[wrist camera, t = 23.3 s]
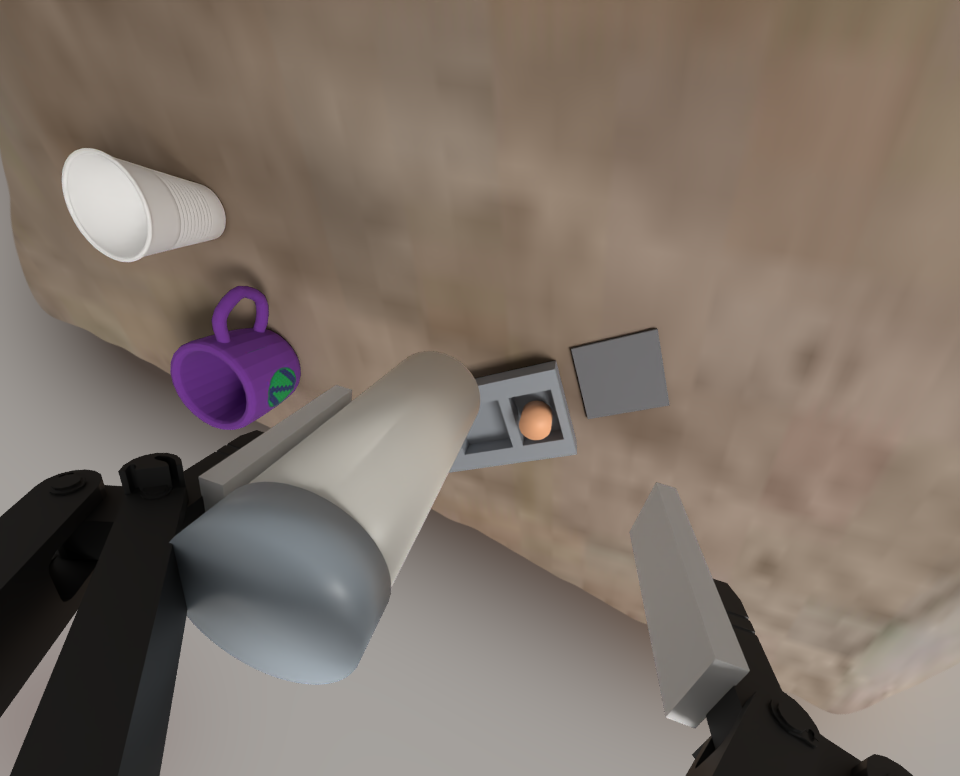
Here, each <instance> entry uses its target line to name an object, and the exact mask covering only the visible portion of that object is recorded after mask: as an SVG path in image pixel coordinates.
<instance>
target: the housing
mask: <svg viewBox="0 0 960 776" xmlns="http://www.w3.org/2000/svg"><path fill="white" fill-rule="evenodd" d="M475 380H476V383H477V385H478V388H479V392H480V408H479V411H478V414H477V416H476V418H475V420H474V422H473V424H472V426H471V428H470V430H469V432H468V434H467V436H466V438H465V440H464V442H463V444H462V447H461V449H460V451H459V453H458V455H457V457H456V459H455V461H454V463H453V465H452V467H451V469H450V471H449V472H456V471H463V470H470V469H477V468H484V467H491V466H498V465H505V464H512V463H520V462H527V461H534V460H541V459H548V458H555V457H562V456H569V455H576V454H577V441H576V437H575V433H574V429H573V425H572V422H571V418H570V414H569V410H568V406H567V402H566V398H565V394H564V390H563V386H562V382H561V379H560V375H559V371H558V367H557V363H556V360H555V361H551V362H546V363H542V364H538V365H533V366H529V367H524V368H520V369H515V370H511V371H506V372H502V373H498V374H493V375H489V376H484V377H480V378H475ZM531 401H542V402H545V403H546V404H547V405H549V407H550V408H551V410H552V425H551V431H550V433H549V435H548V436H547V437H545V438H544V439H541V440H531V439H528V438H527V437H525V436H524V435H523V434H522V433H521V431H520V429H519V421H520V418H521V414H522V410H523V408H524V406H525V405H526V404H527V403H529V402H531Z"/></svg>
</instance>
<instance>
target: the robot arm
mask: <svg viewBox="0 0 960 776" xmlns="http://www.w3.org/2000/svg"><path fill="white" fill-rule="evenodd" d="M351 399H352V390H351V389H348V388H345V387H341V386H338V385H335V386H334V387H332V388H331V389H329V390H328V391H326V392H325V393H323V394H322V395H320V396H319V397H317V398H316V399H314V400H313V401H311V402H310V403H308V404H307V405H305V406H304V407H302V408H301V409H299V410H298V411H296V412H295V413H293V414H292V415H290V416H289V417H287V418H286V419H284V420H283V421H281V422H280V423H278V424H277V425H275V426H274V427H272V428H271V429H269V430H268V431H266V432H265V433H264V432H261V431H258V430H256V431H253V432H250V433H247V434H244V435H241V436H239V437H238V438H236V439H235V440H233V441H231V442H230V443H228V445H227V446H226V445H225V446H223V447H222V448H220V449H219V450H217V452H214V453H212V454H211V455H209V456H207V457H206V458H204V459H203V460H201V461H200V462H198V463H196V464H195V465H193V466H192V467H190V468H188V469H187V470H185V471H184V472H183V467H182V461H181V459H180V458H179V457H178V456H177V455H174V454H169V453H154V454H149V455H144V456H141V457H138V458H136V459H133V460H131V461H130V462H128V463H126V464H125V465H123V467H122V468H121V469H120V470H119V471H118V472H119V475H120V479H121V482H122V486H110V485H109V486H108V485H104V483H103V480H102V477H101V474H99V473H98V472H96V471H92V470H75V471H69V472H65V473H61V474H58V475H55V476H53V477H51V478H48V479H46V480H44V481H43V482H41V483H40V484H38V485H37V486H35V487H34V488H33V489H32V490H31V491H30V492H28V494H26V495H25V496H24V497H23V498H21V499H20V500H19V501H18V502H17V503H16V504H15V505H13V506H12V507H11V508H10V509H9V510H8V511H7V512H5V513H4V514H3V515H2V516H1V517H0V717H1V716H2V714H3V713H4V712H5V710H6V709H7V708H8V706H9V705H10V703H11V702H12V700H13V699H14V698H15V696H16V695H17V694H18V692H19V691H20V689H21V688H22V687H23V685H24V684H25V682H26V681H27V680H28V678H29V677H30V675H31V674H32V673H33V671H34V670H35V668H36V667H37V666H38V664H39V663H40V662H41V660H42V658H43V657H44V656H45V655H46V653H47V652H48V650H49V649H50V648H51V646H52V644H53V643H54V642H55V641H56V639H57V638H58V636H59V635H60V634H61V632H62V631H63V629H64V628H65V627H66V625H67V624H68V623H69V621H70V620H71V618H72V617H73V615H74V614H75V613H76V611H77V610H78V611H77V613H76V616H75V618H74V621H73V623H72V625H71V628H70V631H69V633H68V635H67V638H66V640H65V643H64V645H63V648H62V650H61V652H60V655H59V657H58V660H57V662H56V664H55V667H54V669H53V672H52V674H51V677H50V679H49V681H48V684H47V686H46V689H45V691H44V694H43V696H42V699H41V701H40V704H39V706H38V708H37V711H36V713H35V716H34V718H33V720H32V723H31V725H30V728H29V730H28V733H27V735H26V738H25V740H24V743H23V745H22V747H21V750H20V752H19V755H18V757H17V759H16V762H15V764H14V767H13V769H12V772H11V774H10V776H159V775H160V769H161V764H162V757H163V752H164V746H165V740H166V734H167V728H168V722H169V716H170V710H171V704H172V698H173V693H174V687H175V681H176V675H177V669H178V663H179V657H180V651H181V645H182V639H183V633H184V627H185V621H186V615H187V606H186V601H185V597H184V592H183V588H182V583H181V579H180V575H179V570H178V566H177V561H176V557H175V552H174V548H173V544H172V543H169V542H170V541H171V540H172V538H173V537H174V536H176V535H177V534H178V533H180V532H181V531H182V530H183V529H185V528H186V527H187V526H189V525H190V524H191V523H192V522H194V521H195V520H196V519H197V518H199V517H200V516H201V515H203V514H204V513H205V512H206V511H208V510H209V509H210V508H212V507H213V506H214V505H215V504H217V503H218V502H219V501H221V500H222V499H223V498H224V497H226V496H227V495H228V494H230V493H231V492H232V491H234V490H235V489H237V488H239V487H241V486H243V485H246V484H248V483H250V482H251V481H252V480H253V479H255V478H256V477H257V476H259V475H260V474H261V473H262V472H264V471H265V470H266V469H267V468H269V467H270V466H271V465H272V464H274V463H275V462H276V461H277V460H279V459H280V458H281V457H282V456H284V455H285V454H286V453H287V452H289V451H290V450H291V449H292V448H294V447H295V446H296V445H298V444H299V443H300V442H301V441H303V440H304V439H305V438H306V437H308V436H309V435H310V434H311V433H313V432H314V431H315V430H316V429H318V428H319V427H320V426H321V425H323V424H324V423H325V422H326V421H328V420H329V419H330V418H332V417H333V416H334V415H335V414H337V413H338V412H339V411H340V410H342V409H343V408H344V407H345V406H347V405H348V404H349V403H350V402H351ZM630 536H631V542H632V547H633V552H634V557H635V562H636V567H637V572H638V578H639V583H640V588H641V593H642V598H643V603H644V609H645V614H646V619H647V624H648V629H649V634H650V639H651V645H652V650H653V655H654V660H655V665H656V670H657V675H658V681H659V686H660V691H661V696H662V701H663V706H664V712H665V717H666V718H668V719H671V720H674V721H677V722H679V723H682V724H684V725H687V726H690V727H692V728H696V727H697V726H698V725H699V724H700V723H701V722H702V721H703V720H704V719H705V718H707V721H708V725H709V728H710V732H711V736H710V737H709V739H707V740H706V741H705V742H704V743H703V744H702V745H701V746H700V747H699V748H698V749H697V750H696V751H695V752H694V753H693V754H692V755H693V757H694V758H695V760H694V762H693V764H692V766H691V767H690V769H689V771H688V773H687V774H686V776H913V775H912V774H910V773H909V772H908V771H907V770H906V769H904V768H903V767H902V766H901V765H899V764H898V763H896V762H894V761H892V760H891V759H889V758H887V757H884V756H880V755H876V754H874V755H872V756H870V757H868V758H866V759H865V760H864V761H860V760H859V759H857V758H855V757H854V756H852V755H851V754H849V753H848V752H846V751H845V750H843V749H841V748H840V747H839V746H837V745H835V744H834V743H832V742H831V741H829V740H828V739H826V738H825V737H823V736H822V735H821V734H820V733H819V730H818V728H817V726H816V725H815V724H814V722H813V721H812V719H811V718H810V716H809V715H808V713H807V712H806V711H805V710H804V709H803V708H802V707H801V706H800V705H799V704H798V703H797V702H796V701H795V700H794V699H792V698H791V697H790V696H788V695H787V694H786V693H784V692H783V691H782V690H781V688H780V685H779V683H778V681H777V679H776V677H775V674H774V672H773V670H772V668H771V666H770V663H769V661H768V659H767V657H766V655H765V652H764V650H763V648H762V646H761V644H760V642H759V639H758V637H757V636H756V635H755V631H754V628H753V626H752V624H751V622H750V621H748V618H749V617H748V615H747V613H746V611H745V609H744V607H743V604H742V602H741V600H740V599H739V598H738V596H737V595H736V594H735V593H734V591H733V590H732V589H731V588H730V586H729V585H728V584H727V583H725V582H721V581H718V580H715V579H713V578H712V576H711V573H710V571H709V568H708V566H707V564H706V561H705V559H704V556H703V554H702V551H701V549H700V546H699V544H698V541H697V539H696V536H695V534H694V531H693V529H692V526H691V524H690V522H689V519H688V517H687V514H686V512H685V509H684V507H683V504H682V502H681V499H680V497H679V494H678V492H677V489H676V488H674V487H671V486H667V485H664V484H661V483H658V482H656V483H655V485H654V487H653V489H652V491H651V493H650V495H649V496H648V498H647V500H646V502H645V504H644V506H643V508H642V510H641V512H640V513H639V515H638V517H637V519H636V521H635V523H634V525H633V527H632V528H631V530H630Z"/></svg>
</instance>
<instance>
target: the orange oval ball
mask: <svg viewBox="0 0 960 776" xmlns="http://www.w3.org/2000/svg"><path fill="white" fill-rule="evenodd" d="M551 425H552V410H551V408H550V407H549V405H547V404H546V403H545V402H542V401H531V402H529V403H527V404H526V405H525V406H524V408H523V410H522V414H521V418H520V421H519V429H520V431H521V433H522V434H523V435H524V436H525V437H527V438H528V439H531V440H541V439H544V438H545V437H547V436H548V435H549V433H550V431H551Z"/></svg>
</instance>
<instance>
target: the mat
mask: <svg viewBox="0 0 960 776" xmlns="http://www.w3.org/2000/svg"><path fill="white" fill-rule="evenodd" d="M571 350H572V354H573V359H574V363H575V367H576V371H577V375H578V380H579V384H580V388H581V392H582V396H583V401H584V405H585V409H586V413H587V417H588V419H592V418H597V417H603V416H609V415H615V414H621V413H627V412H633V411H639V410H644V409H650V408H656V407H662V406H668V405H669V399H668V393H667V387H666V380H665V374H664V367H663V361H662V355H661V348H660V342H659V336H658V329H657V328H656V329H652V330H648V331H643V332H639V333H635V334H631V335H626V336H622V337H618V338H613V339H609V340H605V341H600V342H596V343H592V344H588V345H583V346H579V347H575V348H571Z"/></svg>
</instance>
